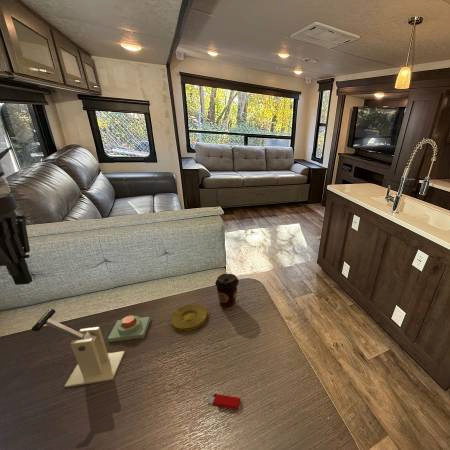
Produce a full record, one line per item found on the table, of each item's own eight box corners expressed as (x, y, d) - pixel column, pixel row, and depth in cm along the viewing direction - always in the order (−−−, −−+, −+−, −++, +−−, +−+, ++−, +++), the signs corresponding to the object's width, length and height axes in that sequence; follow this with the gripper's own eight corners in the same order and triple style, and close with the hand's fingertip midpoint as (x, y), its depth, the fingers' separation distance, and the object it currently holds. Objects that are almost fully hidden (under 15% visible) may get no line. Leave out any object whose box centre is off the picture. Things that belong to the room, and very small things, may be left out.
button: (120, 328, 81) (119, 324, 80) (125, 320, 84) (123, 315, 83) (133, 327, 81) (132, 322, 81) (137, 319, 85) (136, 314, 84)
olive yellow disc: (171, 313, 93) (171, 308, 92) (205, 305, 98) (204, 301, 97) (171, 337, 83) (170, 332, 83) (208, 327, 88) (208, 323, 88)
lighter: (237, 408, 64) (207, 403, 65) (237, 411, 65) (207, 406, 65) (240, 396, 67) (211, 392, 67) (240, 399, 67) (212, 395, 68)
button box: (108, 343, 79) (106, 334, 78) (118, 324, 86) (116, 316, 85) (144, 339, 82) (142, 330, 80) (150, 321, 89) (149, 312, 87)
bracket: (65, 389, 66) (49, 352, 60) (83, 359, 74) (70, 324, 68) (113, 381, 69) (101, 345, 63) (125, 353, 77) (116, 319, 71)
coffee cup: (225, 315, 95) (224, 287, 90) (212, 305, 99) (210, 278, 94) (242, 303, 101) (242, 277, 96) (229, 294, 106) (229, 269, 100)
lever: (28, 330, 58) (35, 324, 58) (45, 312, 64) (52, 306, 63) (83, 354, 64) (89, 348, 64) (94, 335, 70) (100, 330, 70)
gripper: (-18, 205, 50) (23, 297, 59) (29, 187, 61) (57, 267, 71) (-68, 205, 48) (-17, 301, 57) (-10, 187, 59) (24, 269, 69)
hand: (24, 282), depth 64 cm, fingers closed
